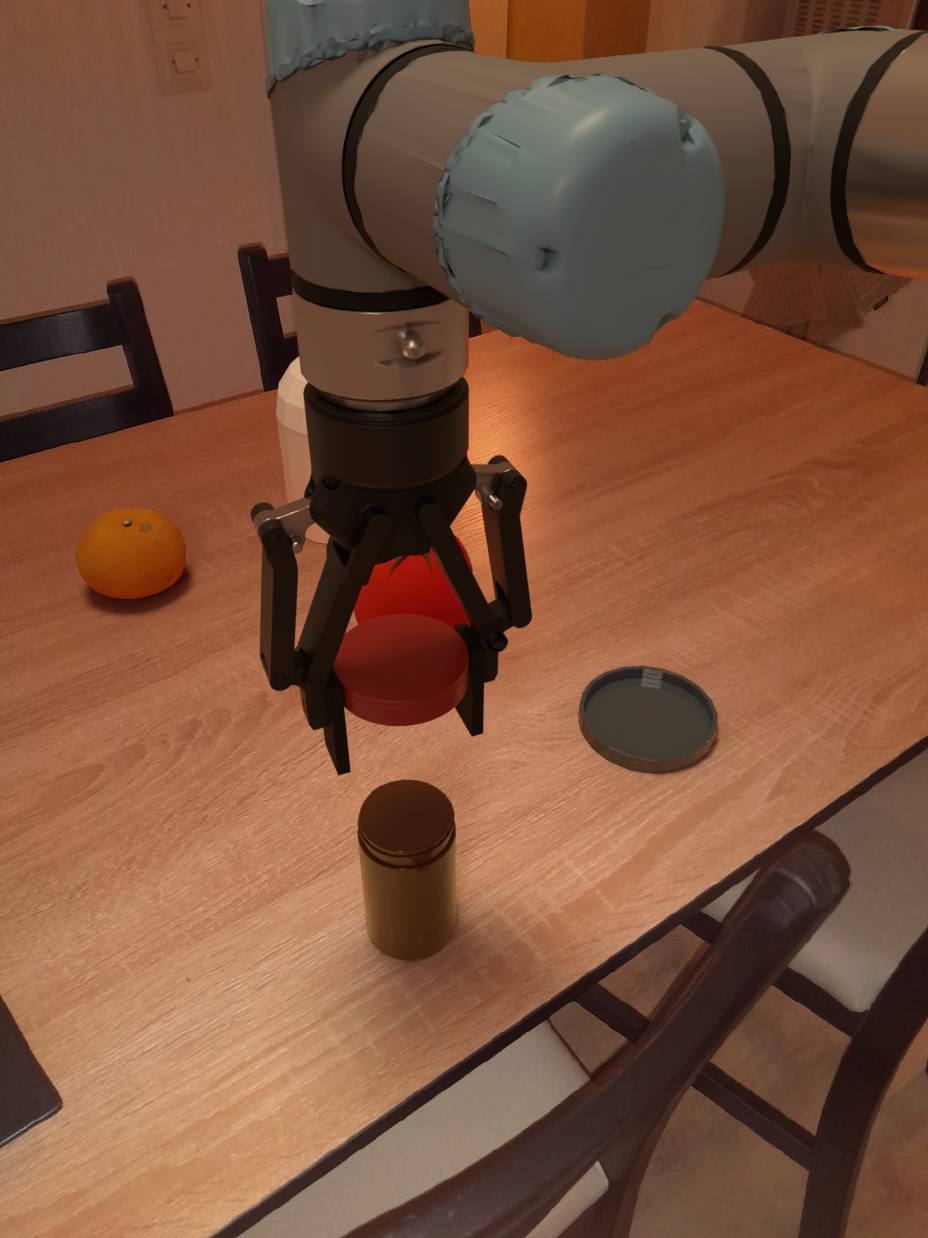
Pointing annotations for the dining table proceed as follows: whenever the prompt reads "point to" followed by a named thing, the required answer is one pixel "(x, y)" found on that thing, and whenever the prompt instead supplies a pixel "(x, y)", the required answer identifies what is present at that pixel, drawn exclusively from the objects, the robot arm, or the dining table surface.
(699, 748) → the saucer
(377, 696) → the lid
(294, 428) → the container
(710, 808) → the dining table surface
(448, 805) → the jar
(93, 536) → the fruit
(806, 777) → the dining table surface
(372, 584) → the tomato
